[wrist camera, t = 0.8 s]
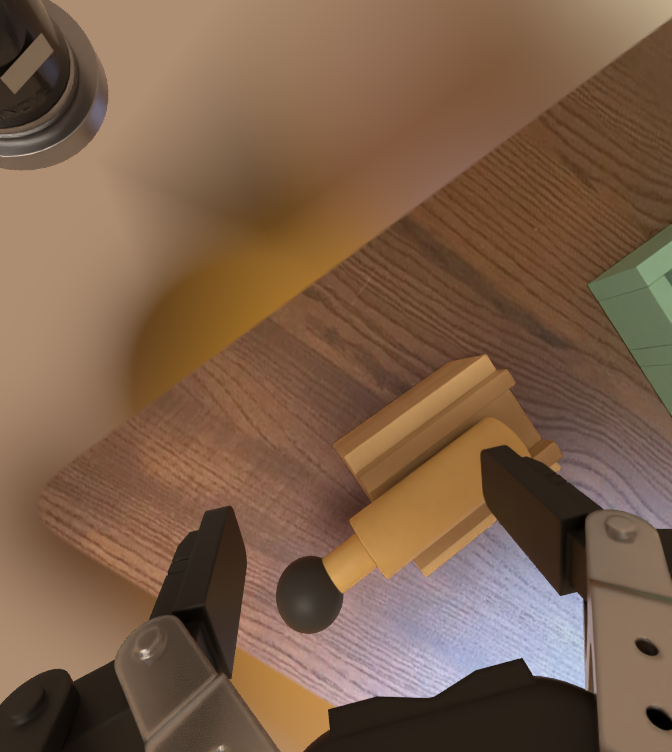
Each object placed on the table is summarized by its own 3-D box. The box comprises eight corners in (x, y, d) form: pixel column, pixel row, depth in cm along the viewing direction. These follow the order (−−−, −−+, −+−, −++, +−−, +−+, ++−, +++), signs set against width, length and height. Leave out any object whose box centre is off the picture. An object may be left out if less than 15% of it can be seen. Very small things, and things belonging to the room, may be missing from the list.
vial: (299, 621, 19) (302, 666, 16) (264, 571, 19) (260, 606, 16) (505, 461, 21) (543, 472, 18) (474, 414, 21) (507, 418, 18)
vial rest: (331, 444, 25) (346, 460, 19) (448, 361, 26) (496, 351, 20) (398, 542, 25) (433, 587, 19) (510, 454, 27) (575, 472, 21)
